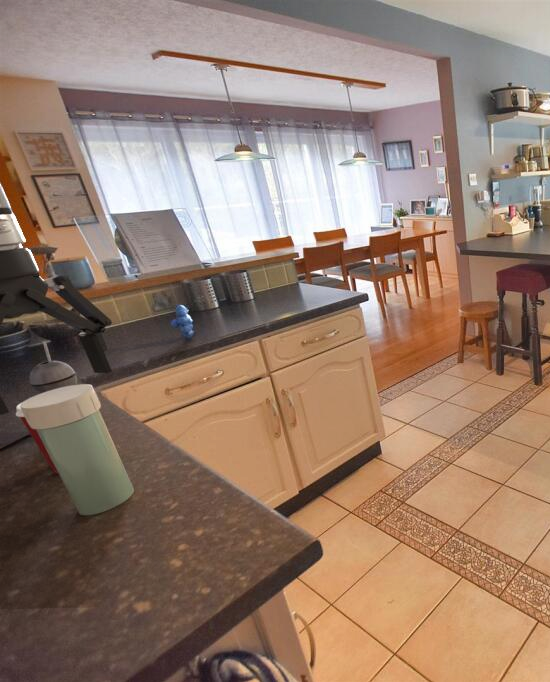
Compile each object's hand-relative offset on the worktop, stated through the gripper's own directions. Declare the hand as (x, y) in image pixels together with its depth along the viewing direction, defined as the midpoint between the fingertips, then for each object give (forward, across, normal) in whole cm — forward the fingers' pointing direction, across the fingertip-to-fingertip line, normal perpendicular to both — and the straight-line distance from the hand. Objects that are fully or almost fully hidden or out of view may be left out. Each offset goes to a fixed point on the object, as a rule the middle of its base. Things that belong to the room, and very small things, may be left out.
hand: (56, 390), depth 66 cm
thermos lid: (+4, 0, 0) cm, 4 cm away
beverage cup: (+20, +21, +38) cm, 48 cm away
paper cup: (+20, +8, +19) cm, 29 cm away
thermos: (+20, 0, 0) cm, 21 cm away
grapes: (+20, +78, +68) cm, 106 cm away
